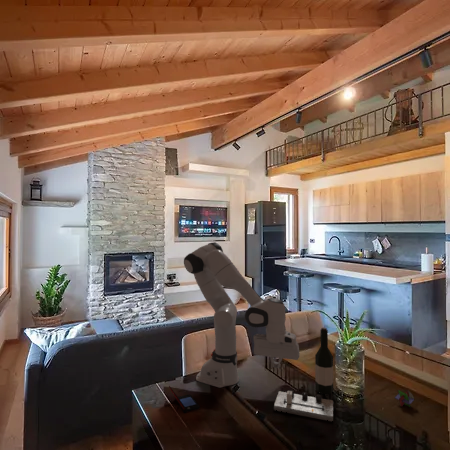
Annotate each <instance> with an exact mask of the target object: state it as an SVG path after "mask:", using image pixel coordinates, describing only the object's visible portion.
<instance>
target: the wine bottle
mask: <svg viewBox="0 0 450 450" xmlns="http://www.w3.org/2000/svg"><path fill="white" fill-rule="evenodd" d="M328 334H329V331H328V329H327V327H321V329H320V340H319V341H320V347H319V349H318V350H317V351H316V353H315V356H314V357H315V358H314V359H315V360H314V363H315V364H314V365H315V367H314V369H315V370H314V371H315V372H314V373H315V375H314V376H315V383H314V384H315V389H316V390H317V391H318V392H320V393H319V394H321V393H323V394H322V395H324V394H328V395H332V394H333V393H334V355H333V354H332V352H331V350H330V349H329V344H328V341H329V340H328V336H329V335H328ZM317 391H316V392H317ZM318 392H317V393H318ZM332 392H333V393H332ZM331 393H332V394H331Z"/></svg>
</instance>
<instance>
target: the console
mask: <svg viewBox="0 0 450 450" xmlns="http://www.w3.org/2000/svg"><path fill="white" fill-rule="evenodd" d="M288 391H292V404H288V403H287V391H285V392H284V391H278V392H277V393H278V394H277V395H276V399H275V401H274V405H273V411H276V410H277V411H278V412H281V411H282V413H286V412H287V414H293V415H298V416H301V417H308V418H313V419H318V420H323V421H327V420H328V421H327V422H332V421H333V422H334V400H332V399H328V398H327V399H326V398H322V397H323V396H322V394H320V393H318V394H315V397H314V396H308V394H309V393H308V392H307V391H302V392H301V394H298V393H295V390H293V389H289V390H288Z"/></svg>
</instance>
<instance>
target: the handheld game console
mask: <svg viewBox="0 0 450 450" xmlns="http://www.w3.org/2000/svg"><path fill="white" fill-rule="evenodd" d="M168 388H169V390H170V392H171V393H172V394H173V396H174V397H175V398H174V400H175V401H176V403H177V404H178V405H179V407H180V408H181V410H182V411H183V413H184V414H186V413H190V412H194V411H198V410H199V409H201V407H200V404H199V403H198V402H197V401H196V400H195V398H194V397H193V396H192V395H191V394H186V395H182V396H177V394H176V393H175V392H174V390H173V389H172V387H171V386H170V385H169V386H168Z"/></svg>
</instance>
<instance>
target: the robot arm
mask: <svg viewBox="0 0 450 450" xmlns="http://www.w3.org/2000/svg"><path fill="white" fill-rule="evenodd" d="M183 265H184V268H185V270H186V271H187V272H188V273H190V274H192V275H193V276H194V279H195V281H196V285H197V286H198V288H199V290H200V292H201V294H202V295H203V297H204V299H205V301H206V302H207V303H209V305H210V306H211V308H212V310H213V311H214V314H213V327H214V337H215V338H214V339H215V340H214V341H215V342H214V343H215V345H214V346H215V348H214V349H213V351H212V352H211V354H210V357H211V358H209V359H208V360H207V361H205V363H203V365H202V366H201V368H200V371H199V372H198V373H197V375H196V376H195V377H196V378H195V381H196V382H200V383H202V384H206V385H209V386H213V387H217V388H223V387H228V386H233V385H235V384H238V383H239V382H240V377H239V372H238V365H237V364H238V352H237V329H236V328H237V327H236V324H237V323H236V320H237V316H238V309H237V306H236V305H235V303H234V302H233V299H232V298H231V297H230V296H229V294H228V293H227V291H226V290H225V288H226V289H229V290H234V291H236V292H237V293H239V294H240V295H241V296H242V297H243V298H244V299H245V301H246V302H247V303H248V304H249V305H250V307H248V308H247V310H246V311H245V313H244V320H245V321H246V323H247V325H249V326H250V327H252V328H263V327H265V333H256V334H254V335H253V338H252V339H253V340H252V341H253V343H254V344H253V354H254V355H255V356H260V357H261V356H262V357H269V358H270V361H271V363H272V367H273V368H277V369H278V368H279V369H280V367H281V362H282V361H283V359H287V360H295V361H297V360H299V359H300V345H299V342H298V341H297V335H296V334H295V333H293V332H290V331H287V329H286V325H285V324H286V318H287V317H286V306H285V303H284V301H282V300H280V299H278V298H274V297H269V298H268V297H267V298H266V300H265V299H263V298H262V297H261V296H260V295H259V293H257V291H256V290H255V289H254V288H253V287H252V286H251V284H250V283H249V282H248V281H247V280H246V279H245V278H244V276H243V275H242V274H241V272H240V271H239V270H238V268H237V266H236V265H235V264H234V263H233V262H232V260H231V259H230V258H229V257H228V256H227V255H226V254H225V253H224V250H223V248H222V245H220V244H219V242H218V243H217V242H214V241H213V242H210V243H208V244H205V245H202V246H201V247H200V246H199V247H198V248H197V249H195V250H194V251H192V252H191V253H188V254H187V255H185V257H183ZM276 358H277V359H278V361H276V360H275V359H276Z"/></svg>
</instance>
